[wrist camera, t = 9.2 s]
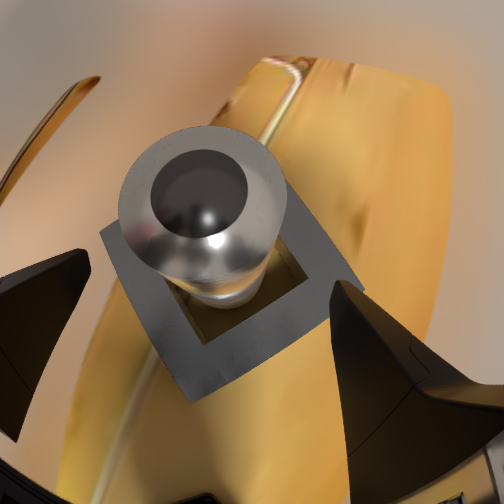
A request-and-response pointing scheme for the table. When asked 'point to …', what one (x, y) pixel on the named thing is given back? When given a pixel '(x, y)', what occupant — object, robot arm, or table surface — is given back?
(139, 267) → the jig
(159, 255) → the ring
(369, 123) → the table surface
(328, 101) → the table surface
